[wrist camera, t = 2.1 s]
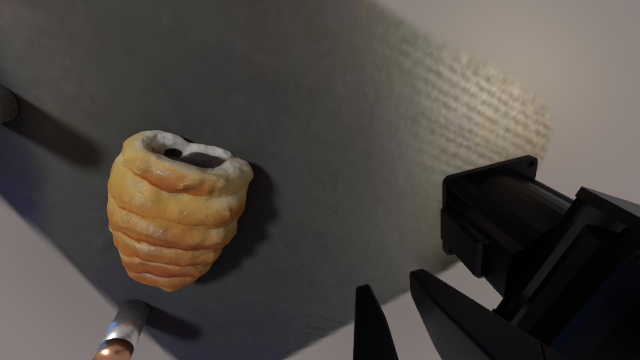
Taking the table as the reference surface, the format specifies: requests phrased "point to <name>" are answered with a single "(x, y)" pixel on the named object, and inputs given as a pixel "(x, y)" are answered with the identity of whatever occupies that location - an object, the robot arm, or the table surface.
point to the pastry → (173, 206)
